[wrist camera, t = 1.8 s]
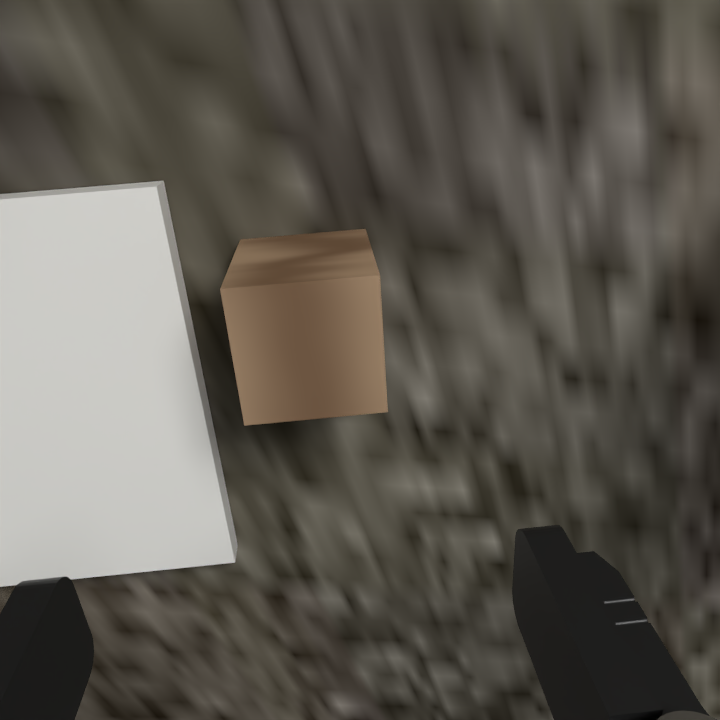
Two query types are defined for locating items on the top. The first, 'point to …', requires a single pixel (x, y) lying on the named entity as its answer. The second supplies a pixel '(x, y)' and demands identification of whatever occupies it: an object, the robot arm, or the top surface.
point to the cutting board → (102, 392)
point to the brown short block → (306, 327)
